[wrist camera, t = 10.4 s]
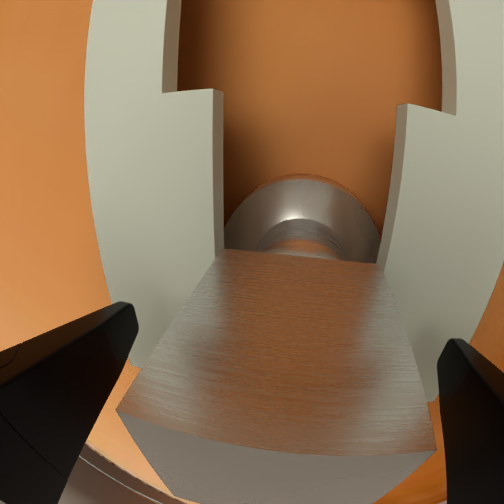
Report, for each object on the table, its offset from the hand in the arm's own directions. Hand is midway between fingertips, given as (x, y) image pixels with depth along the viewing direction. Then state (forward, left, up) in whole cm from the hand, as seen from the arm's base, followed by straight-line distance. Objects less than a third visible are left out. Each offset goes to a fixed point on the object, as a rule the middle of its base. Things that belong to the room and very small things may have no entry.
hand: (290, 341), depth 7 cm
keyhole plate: (0, -5, -6) cm, 8 cm away
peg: (0, 0, -6) cm, 6 cm away
